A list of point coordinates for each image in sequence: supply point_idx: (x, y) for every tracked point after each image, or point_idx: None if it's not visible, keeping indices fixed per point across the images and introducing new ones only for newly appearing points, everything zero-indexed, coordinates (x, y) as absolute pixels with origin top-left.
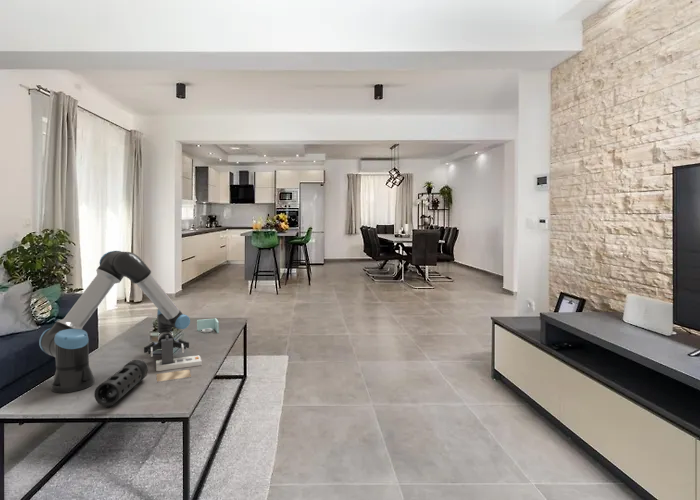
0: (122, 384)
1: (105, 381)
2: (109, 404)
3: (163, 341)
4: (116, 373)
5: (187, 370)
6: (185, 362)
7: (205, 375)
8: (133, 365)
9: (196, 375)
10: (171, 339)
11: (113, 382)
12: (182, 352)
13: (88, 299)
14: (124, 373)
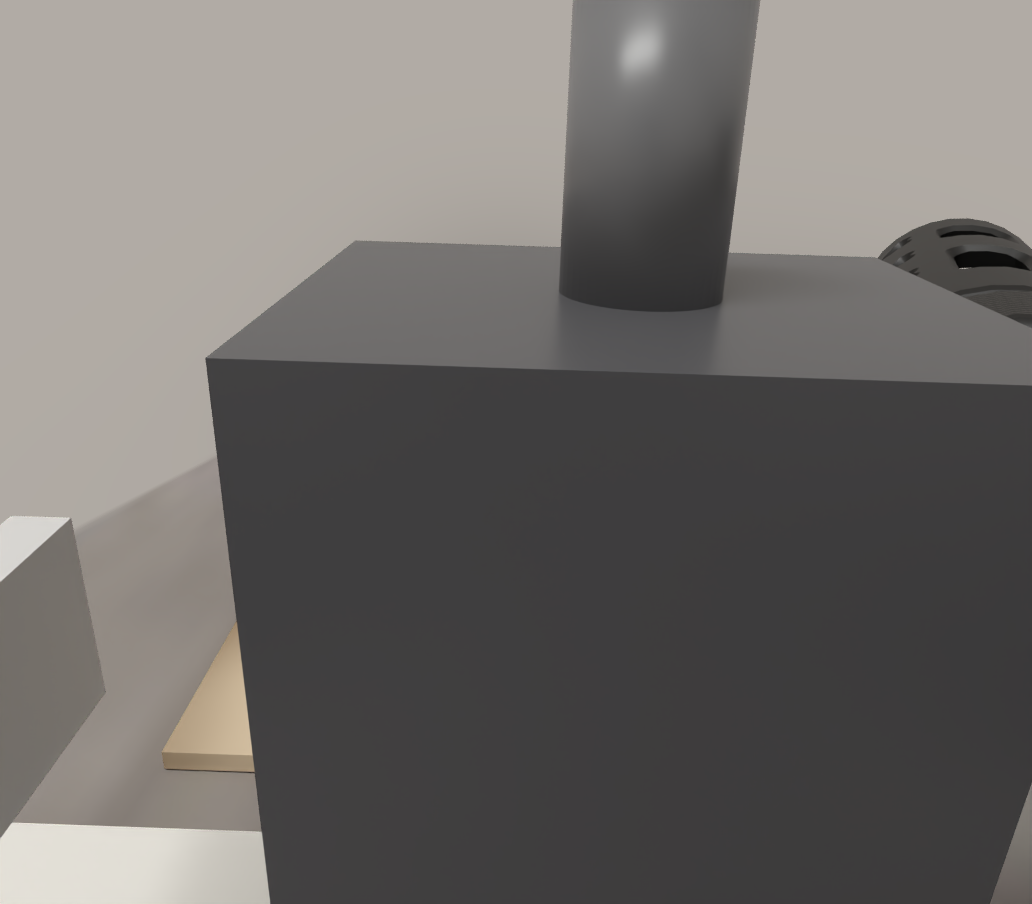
0: None
1: (999, 229)
2: None
3: (785, 264)
4: (1029, 261)
5: (214, 721)
6: (99, 875)
7: (102, 554)
8: (972, 287)
9: (190, 585)
10: (389, 276)
11: (927, 226)
12: (97, 680)
13: None
14: (941, 251)
